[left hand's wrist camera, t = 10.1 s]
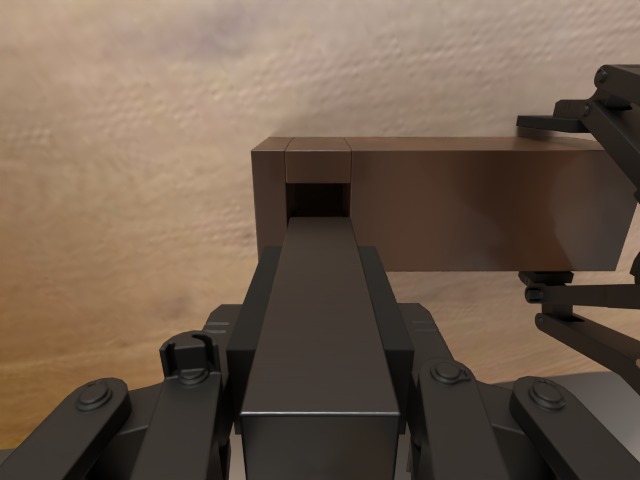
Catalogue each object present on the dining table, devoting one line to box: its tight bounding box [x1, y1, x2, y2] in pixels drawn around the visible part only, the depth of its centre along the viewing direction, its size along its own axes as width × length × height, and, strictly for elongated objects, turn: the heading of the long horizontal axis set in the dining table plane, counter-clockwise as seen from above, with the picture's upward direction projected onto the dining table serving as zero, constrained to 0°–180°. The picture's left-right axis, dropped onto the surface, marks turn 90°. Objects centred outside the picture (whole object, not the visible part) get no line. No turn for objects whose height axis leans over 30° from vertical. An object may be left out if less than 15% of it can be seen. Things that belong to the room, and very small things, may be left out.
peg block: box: [251, 137, 638, 271], centre depth 27 cm, size 24×8×8 cm, turn 90°
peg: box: [239, 217, 401, 480], centre depth 13 cm, size 3×3×12 cm
